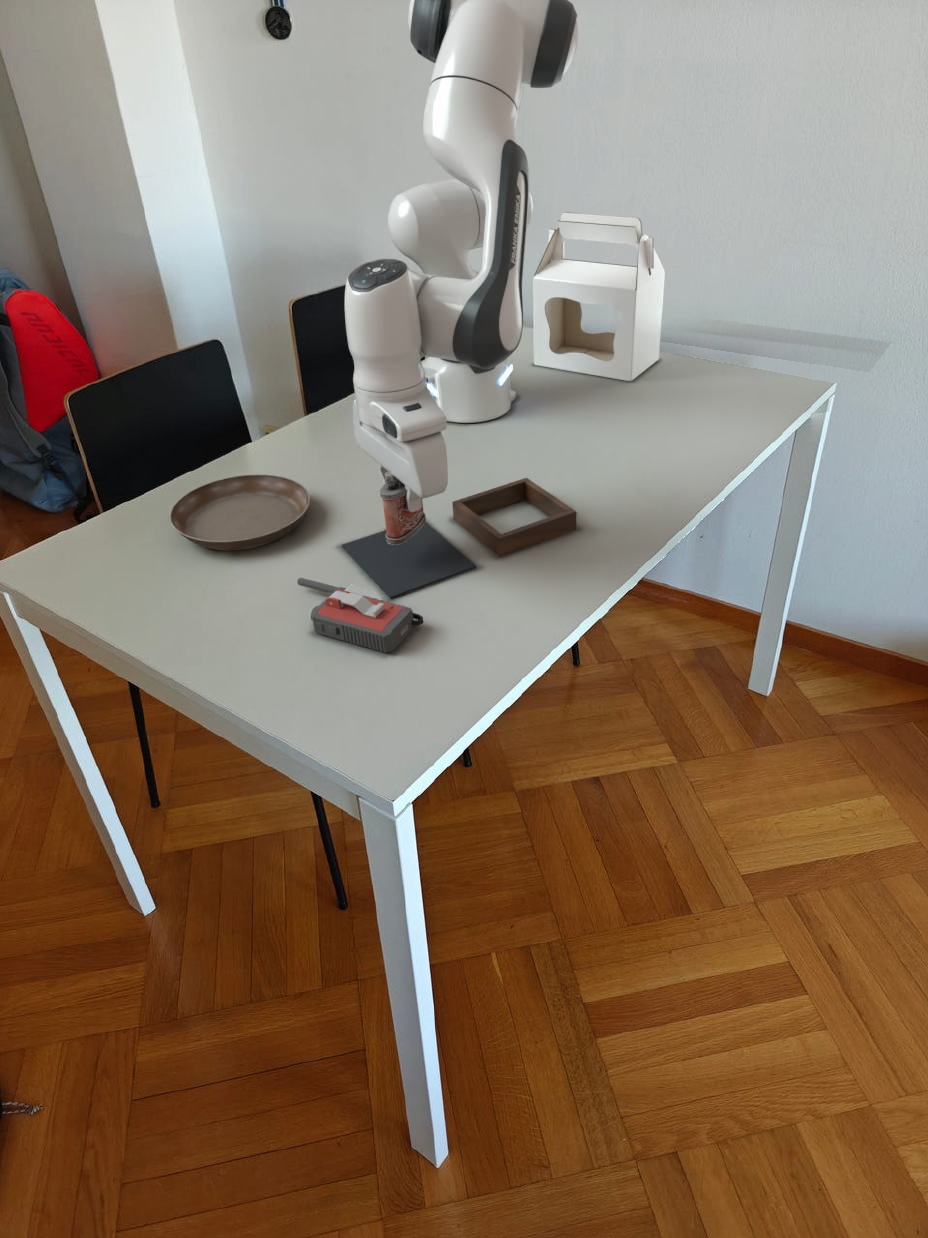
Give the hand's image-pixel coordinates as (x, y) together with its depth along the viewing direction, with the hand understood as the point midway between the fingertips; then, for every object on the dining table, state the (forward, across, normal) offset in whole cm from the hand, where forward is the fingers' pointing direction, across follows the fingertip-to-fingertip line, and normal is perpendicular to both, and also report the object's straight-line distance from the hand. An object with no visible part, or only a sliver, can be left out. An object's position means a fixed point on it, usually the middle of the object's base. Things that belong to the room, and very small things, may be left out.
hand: (403, 500), depth 118 cm
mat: (+9, 0, 0) cm, 9 cm away
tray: (+9, +1, +17) cm, 19 cm away
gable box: (+9, -45, +66) cm, 80 cm away
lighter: (+5, 0, 0) cm, 5 cm away
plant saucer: (+9, -23, -16) cm, 30 cm away
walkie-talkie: (+9, +9, -13) cm, 18 cm away
